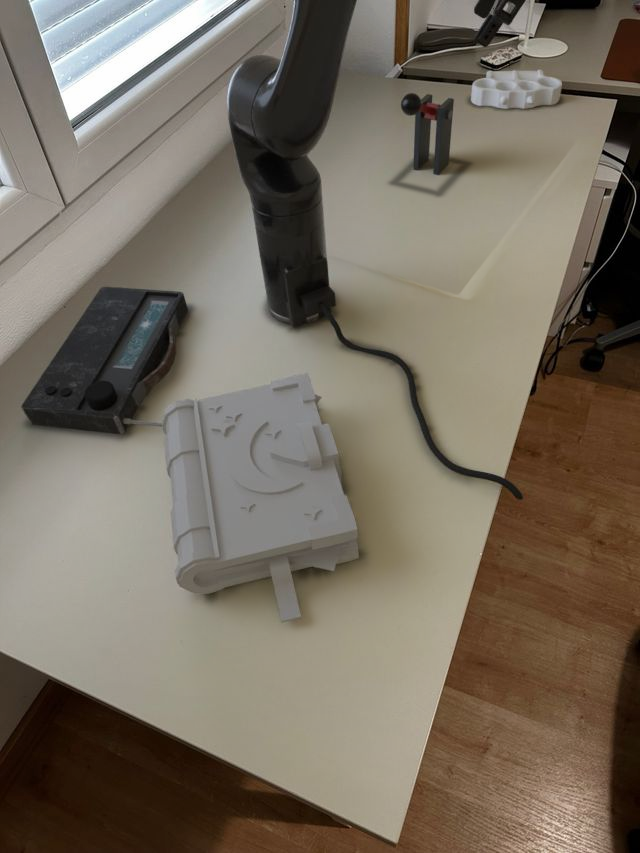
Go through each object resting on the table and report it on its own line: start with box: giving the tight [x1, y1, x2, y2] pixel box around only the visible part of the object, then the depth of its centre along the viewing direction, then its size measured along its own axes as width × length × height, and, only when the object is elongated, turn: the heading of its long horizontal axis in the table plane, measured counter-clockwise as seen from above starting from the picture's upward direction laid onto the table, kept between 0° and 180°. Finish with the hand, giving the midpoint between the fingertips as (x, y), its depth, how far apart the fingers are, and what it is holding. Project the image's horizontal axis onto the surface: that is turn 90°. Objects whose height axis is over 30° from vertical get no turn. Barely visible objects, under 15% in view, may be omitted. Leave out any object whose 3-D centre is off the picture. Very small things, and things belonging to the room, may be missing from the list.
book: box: [161, 372, 360, 623], centre depth 69 cm, size 19×28×8 cm
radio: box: [20, 286, 189, 435], centre depth 88 cm, size 25×4×20 cm
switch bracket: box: [412, 93, 455, 176], centre depth 114 cm, size 12×9×13 cm
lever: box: [400, 92, 441, 122], centre depth 106 cm, size 13×3×3 cm, turn 147°
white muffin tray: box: [470, 69, 563, 110], centre depth 136 cm, size 3×18×15 cm
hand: (479, 28), depth 93 cm, fingers open, 8 cm apart
